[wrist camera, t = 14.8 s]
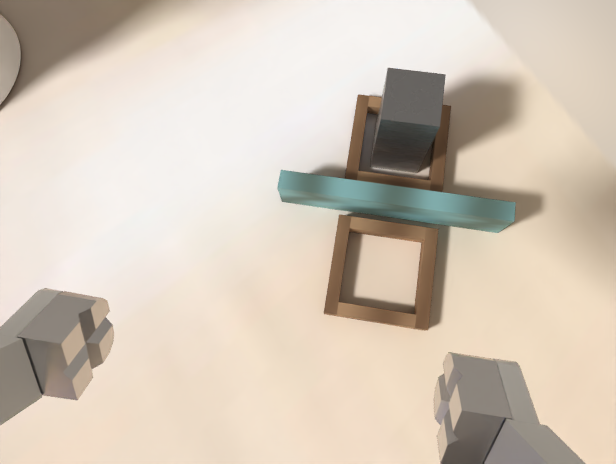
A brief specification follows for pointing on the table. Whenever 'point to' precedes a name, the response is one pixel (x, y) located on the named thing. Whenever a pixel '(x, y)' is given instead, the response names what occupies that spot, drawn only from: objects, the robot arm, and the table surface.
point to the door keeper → (392, 215)
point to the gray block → (407, 119)
